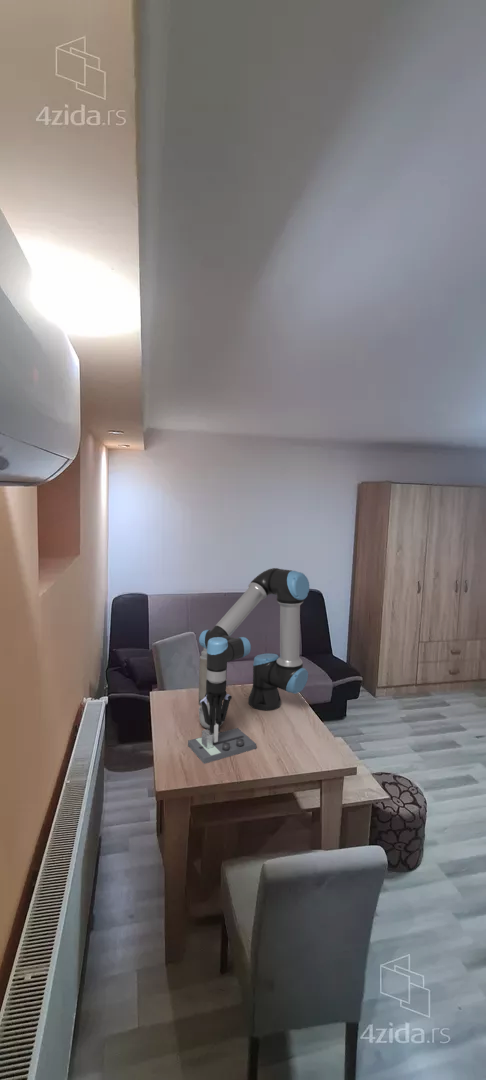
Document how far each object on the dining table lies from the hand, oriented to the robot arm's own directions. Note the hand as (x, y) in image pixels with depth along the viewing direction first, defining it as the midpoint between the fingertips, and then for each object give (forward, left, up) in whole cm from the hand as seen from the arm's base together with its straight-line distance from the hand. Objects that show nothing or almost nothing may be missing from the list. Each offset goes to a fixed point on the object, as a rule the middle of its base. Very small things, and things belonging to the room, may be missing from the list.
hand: (214, 740), depth 174 cm
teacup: (-8, -18, -4) cm, 20 cm away
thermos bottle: (-15, -37, -4) cm, 40 cm away
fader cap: (+3, 0, -2) cm, 3 cm away
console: (-3, 0, -4) cm, 5 cm away
